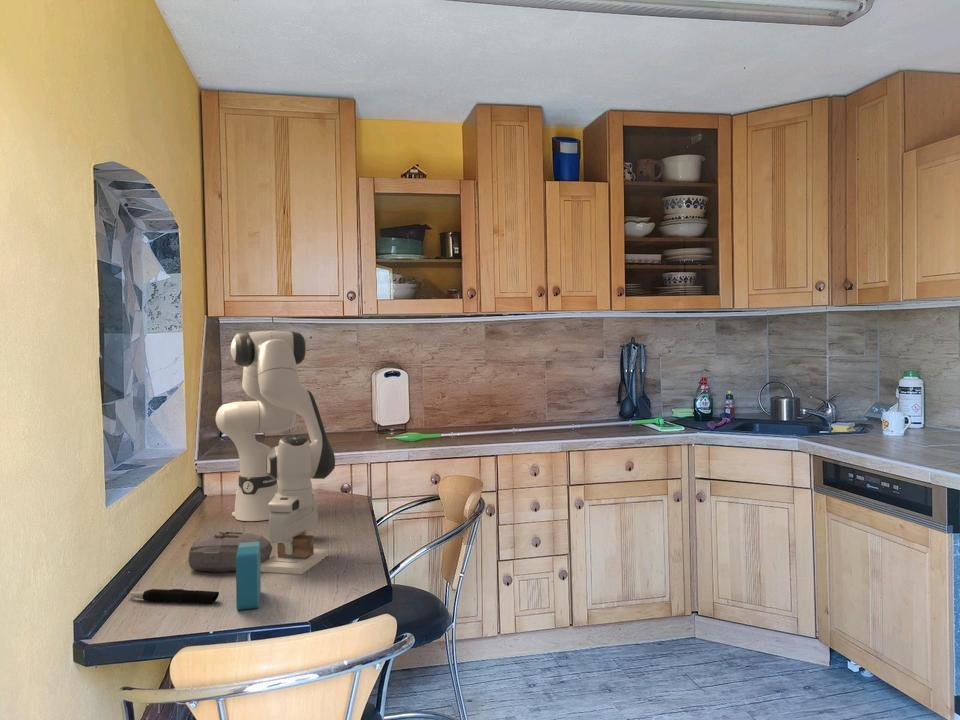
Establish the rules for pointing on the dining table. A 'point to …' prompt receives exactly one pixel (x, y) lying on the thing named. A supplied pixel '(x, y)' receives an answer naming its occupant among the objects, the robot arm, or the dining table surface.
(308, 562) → the board
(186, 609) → the dining table surface
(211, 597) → the utility knife
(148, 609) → the dining table surface
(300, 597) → the dining table surface
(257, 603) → the teal arch block
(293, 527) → the robot arm
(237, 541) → the grey rounded bag
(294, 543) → the block
